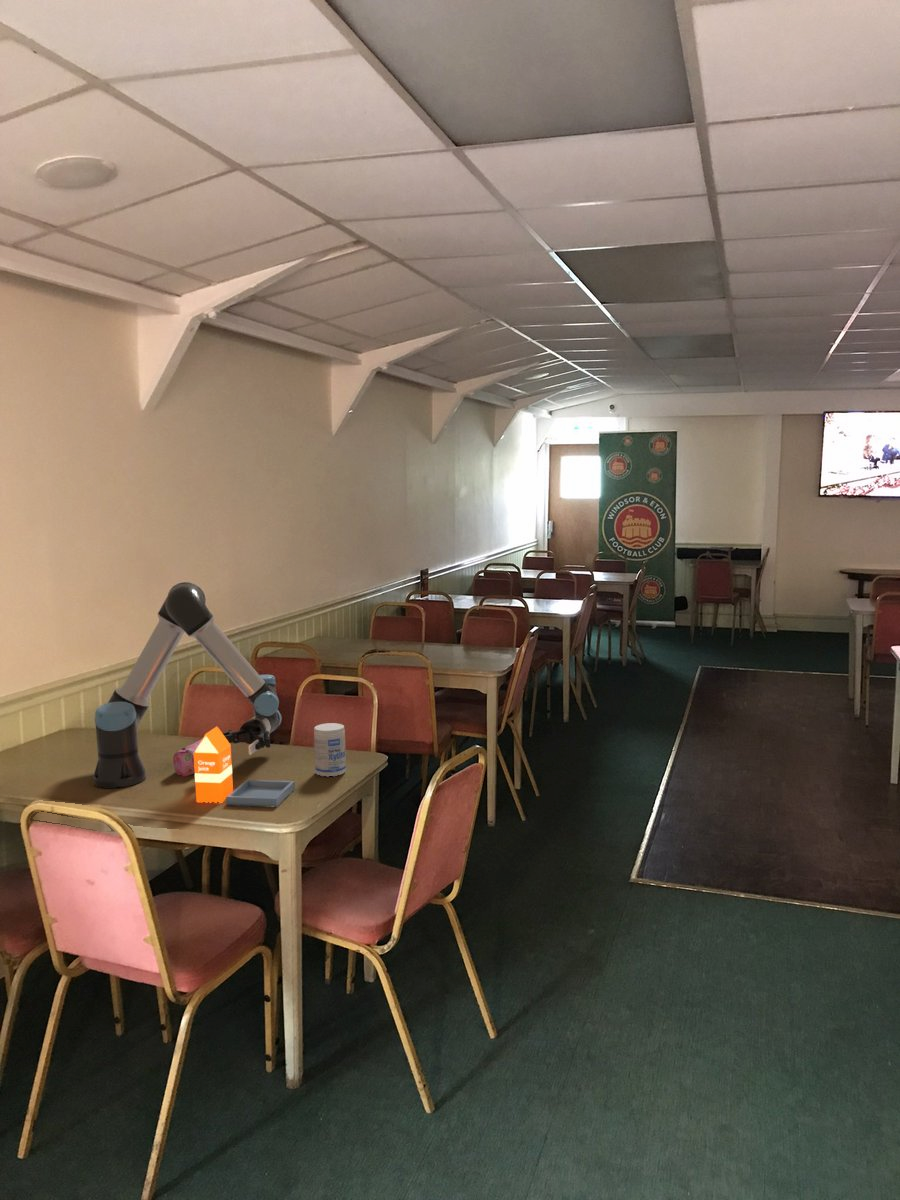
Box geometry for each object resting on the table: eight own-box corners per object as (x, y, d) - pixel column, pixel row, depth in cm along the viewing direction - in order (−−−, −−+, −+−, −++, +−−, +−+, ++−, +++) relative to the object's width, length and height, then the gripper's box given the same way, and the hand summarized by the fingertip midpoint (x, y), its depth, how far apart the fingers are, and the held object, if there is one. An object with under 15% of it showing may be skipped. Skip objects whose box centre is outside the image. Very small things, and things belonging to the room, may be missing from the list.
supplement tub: (333, 779, 279) (331, 732, 277) (309, 775, 284) (306, 728, 282) (352, 770, 287) (350, 724, 285) (328, 766, 292) (326, 721, 290)
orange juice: (196, 802, 262) (191, 734, 260) (208, 791, 271) (204, 725, 268) (222, 803, 261) (218, 734, 258) (234, 792, 270) (230, 726, 267)
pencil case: (196, 778, 284) (194, 750, 283) (170, 776, 286) (168, 748, 285) (230, 757, 304) (229, 731, 303) (205, 755, 307) (204, 729, 305)
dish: (226, 805, 259) (225, 796, 259) (246, 787, 274) (246, 779, 273) (277, 807, 256) (276, 798, 256) (295, 789, 271) (294, 781, 271)
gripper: (292, 742, 294) (268, 763, 273) (219, 740, 298) (189, 760, 277) (291, 719, 293) (267, 738, 272) (217, 718, 297) (188, 736, 276)
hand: (228, 749), depth 275 cm, fingers open, 13 cm apart
